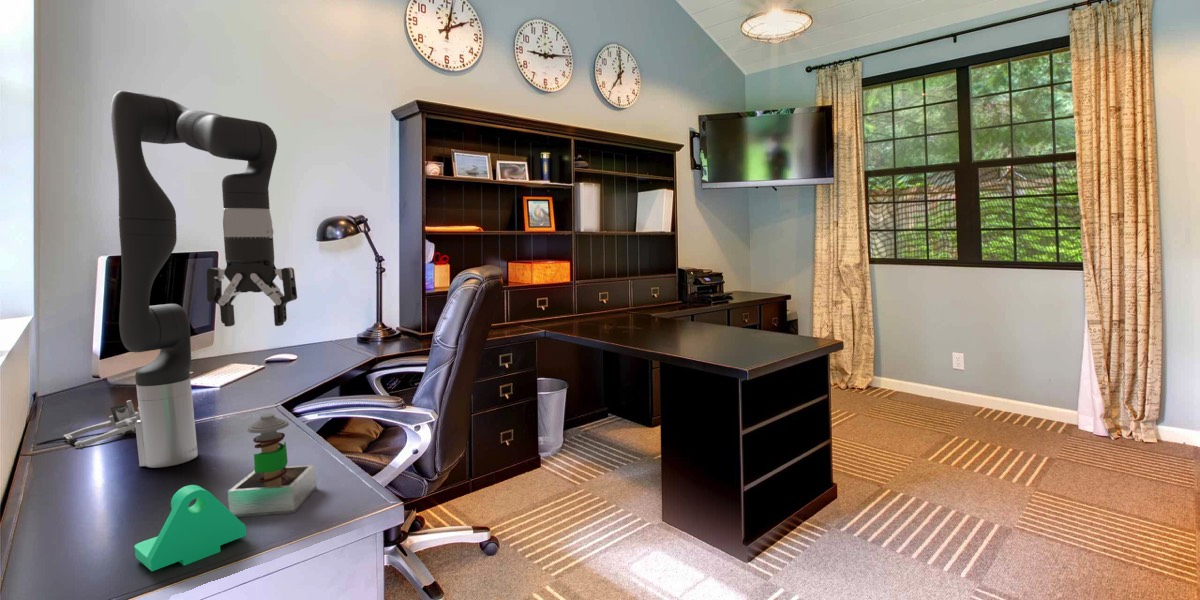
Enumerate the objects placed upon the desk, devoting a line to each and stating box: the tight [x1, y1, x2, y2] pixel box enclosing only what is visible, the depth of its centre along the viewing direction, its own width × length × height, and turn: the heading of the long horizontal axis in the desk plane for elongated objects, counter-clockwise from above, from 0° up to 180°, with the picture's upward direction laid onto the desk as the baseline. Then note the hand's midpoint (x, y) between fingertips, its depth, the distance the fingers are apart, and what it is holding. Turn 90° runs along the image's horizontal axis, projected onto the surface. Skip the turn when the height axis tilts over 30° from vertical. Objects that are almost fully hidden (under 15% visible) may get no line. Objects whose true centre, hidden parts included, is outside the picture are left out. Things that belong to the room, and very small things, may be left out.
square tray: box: [227, 464, 318, 518], centre depth 104 cm, size 10×10×4 cm
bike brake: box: [35, 399, 140, 449], centre depth 144 cm, size 14×7×20 cm
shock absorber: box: [246, 413, 290, 487], centre depth 104 cm, size 6×6×15 cm
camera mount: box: [134, 484, 247, 572], centre depth 88 cm, size 12×8×10 cm, turn 143°
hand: (254, 325), depth 107 cm, fingers open, 8 cm apart
